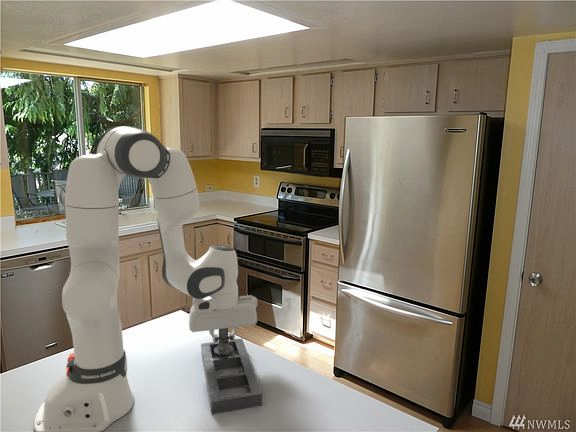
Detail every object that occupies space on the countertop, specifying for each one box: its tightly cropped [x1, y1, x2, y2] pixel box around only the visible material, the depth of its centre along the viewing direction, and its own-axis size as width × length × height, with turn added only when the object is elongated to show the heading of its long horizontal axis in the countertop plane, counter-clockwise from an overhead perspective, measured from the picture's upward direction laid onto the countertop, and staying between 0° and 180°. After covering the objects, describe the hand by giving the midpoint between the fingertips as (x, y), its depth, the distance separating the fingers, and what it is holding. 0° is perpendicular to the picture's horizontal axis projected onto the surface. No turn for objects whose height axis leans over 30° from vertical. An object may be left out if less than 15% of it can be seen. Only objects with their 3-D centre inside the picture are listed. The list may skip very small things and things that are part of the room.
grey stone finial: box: [214, 328, 234, 358], centre depth 127 cm, size 6×6×12 cm
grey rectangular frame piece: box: [200, 338, 263, 415], centre depth 120 cm, size 13×29×4 cm, turn 16°
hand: (223, 340), depth 127 cm, fingers closed on grey stone finial, 4 cm apart
